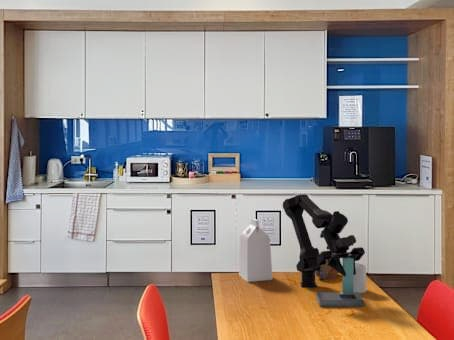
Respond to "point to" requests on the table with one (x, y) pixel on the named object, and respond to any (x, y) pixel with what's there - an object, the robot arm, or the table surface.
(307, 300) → the table surface
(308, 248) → the robot arm
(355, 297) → the flange plate
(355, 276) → the mug
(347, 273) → the peg
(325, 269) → the tin
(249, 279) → the milk
